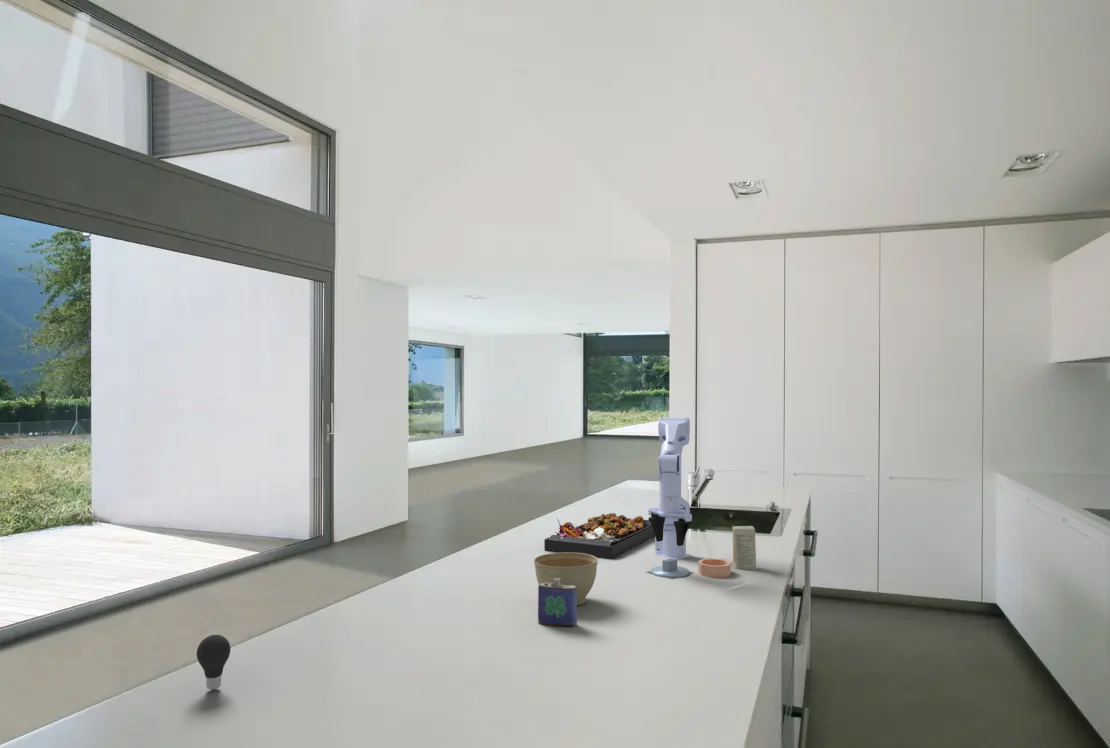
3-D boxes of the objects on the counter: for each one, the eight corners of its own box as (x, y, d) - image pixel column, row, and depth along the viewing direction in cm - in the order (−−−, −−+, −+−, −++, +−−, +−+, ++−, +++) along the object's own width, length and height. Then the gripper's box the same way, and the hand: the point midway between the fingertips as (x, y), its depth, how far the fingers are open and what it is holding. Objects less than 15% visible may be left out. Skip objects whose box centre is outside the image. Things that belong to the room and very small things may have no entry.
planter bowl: (607, 597, 189) (606, 555, 189) (583, 615, 174) (582, 569, 174) (550, 589, 196) (550, 549, 196) (523, 607, 181) (522, 563, 181)
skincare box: (754, 566, 219) (753, 525, 219) (756, 570, 214) (756, 528, 215) (732, 566, 219) (731, 525, 219) (734, 569, 215) (734, 528, 215)
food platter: (612, 561, 229) (612, 528, 229) (544, 552, 241) (544, 521, 241) (663, 534, 268) (663, 506, 268) (603, 528, 280) (603, 501, 280)
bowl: (692, 574, 211) (692, 562, 211) (710, 568, 217) (710, 556, 217) (718, 580, 204) (718, 568, 204) (736, 574, 210) (736, 562, 210)
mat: (645, 573, 211) (645, 572, 211) (667, 567, 218) (667, 566, 218) (672, 580, 204) (672, 579, 204) (694, 574, 211) (694, 572, 211)
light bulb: (203, 684, 136) (203, 630, 136) (235, 683, 136) (235, 629, 136) (191, 697, 130) (191, 641, 130) (224, 696, 131) (223, 640, 131)
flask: (578, 624, 168) (577, 577, 168) (574, 628, 165) (574, 581, 166) (539, 620, 171) (539, 575, 171) (536, 625, 168) (535, 578, 168)
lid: (642, 572, 211) (642, 559, 212) (667, 565, 219) (667, 553, 219) (672, 579, 203) (672, 567, 203) (697, 572, 211) (697, 560, 211)
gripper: (641, 494, 214) (641, 541, 214) (680, 500, 203) (681, 549, 203) (656, 492, 219) (657, 537, 219) (696, 497, 208) (696, 545, 208)
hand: (669, 543), depth 211 cm, fingers open, 7 cm apart
